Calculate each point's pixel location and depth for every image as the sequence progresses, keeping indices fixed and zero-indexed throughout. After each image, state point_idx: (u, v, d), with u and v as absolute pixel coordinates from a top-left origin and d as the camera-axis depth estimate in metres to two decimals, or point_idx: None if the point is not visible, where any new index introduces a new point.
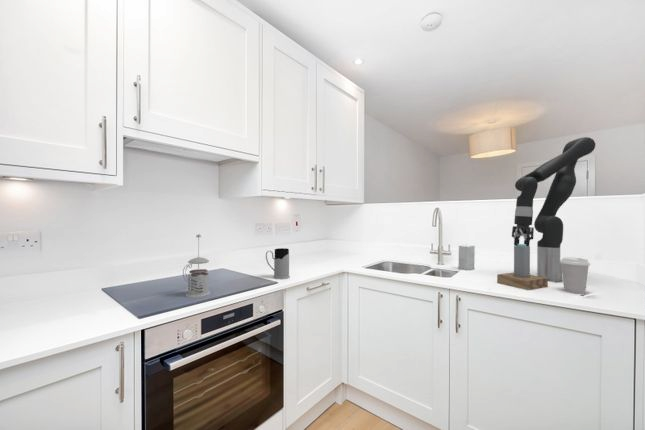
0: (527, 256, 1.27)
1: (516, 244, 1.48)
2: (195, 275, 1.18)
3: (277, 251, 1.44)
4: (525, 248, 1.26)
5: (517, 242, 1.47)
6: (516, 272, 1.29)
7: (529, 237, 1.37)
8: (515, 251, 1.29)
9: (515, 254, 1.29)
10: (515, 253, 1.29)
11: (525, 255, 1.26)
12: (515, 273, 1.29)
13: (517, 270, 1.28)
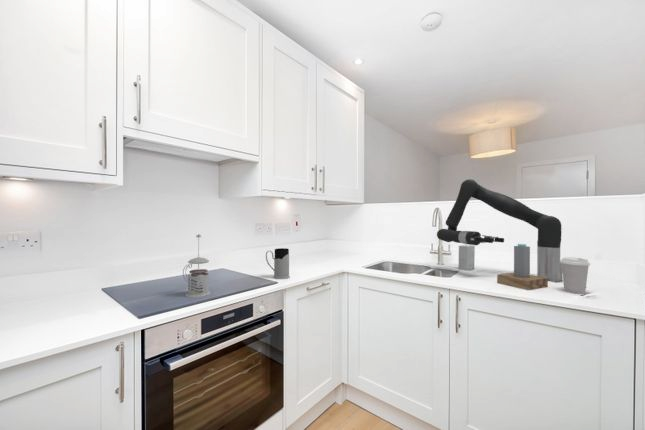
0: (527, 256, 1.27)
1: (501, 240, 1.41)
2: (195, 275, 1.18)
3: (277, 251, 1.43)
4: (525, 248, 1.26)
5: (499, 239, 1.42)
6: (516, 272, 1.29)
7: (478, 241, 1.41)
8: (515, 251, 1.29)
9: (515, 254, 1.29)
10: (515, 253, 1.29)
11: (525, 255, 1.26)
12: (515, 273, 1.29)
13: (517, 270, 1.28)
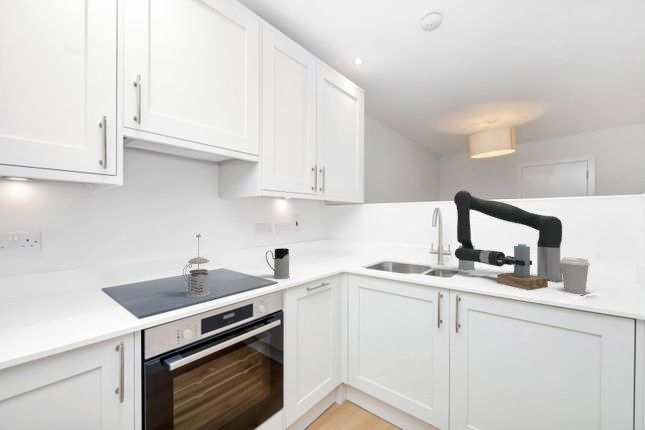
0: (527, 256, 1.27)
1: None
2: (195, 275, 1.18)
3: (277, 251, 1.44)
4: (525, 248, 1.26)
5: None
6: (516, 272, 1.29)
7: (509, 263, 1.29)
8: (515, 251, 1.29)
9: (515, 254, 1.29)
10: (515, 253, 1.29)
11: (525, 255, 1.26)
12: (515, 273, 1.29)
13: (518, 270, 1.28)
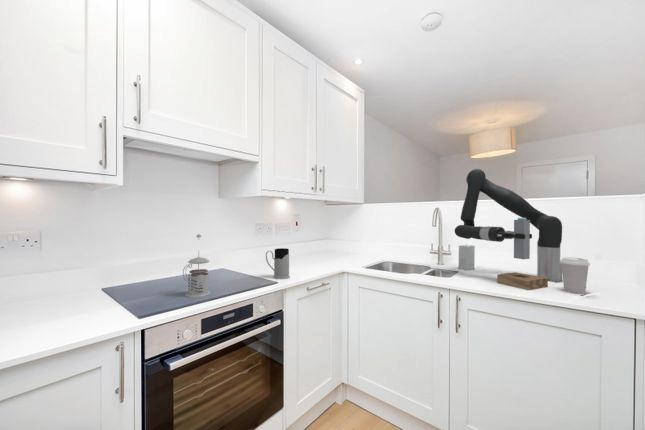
0: (527, 229, 1.27)
1: None
2: (195, 275, 1.18)
3: (277, 251, 1.43)
4: (525, 221, 1.26)
5: None
6: (516, 245, 1.29)
7: (508, 237, 1.29)
8: (515, 225, 1.29)
9: (515, 228, 1.29)
10: (515, 227, 1.29)
11: (525, 228, 1.26)
12: (515, 247, 1.29)
13: (517, 244, 1.28)
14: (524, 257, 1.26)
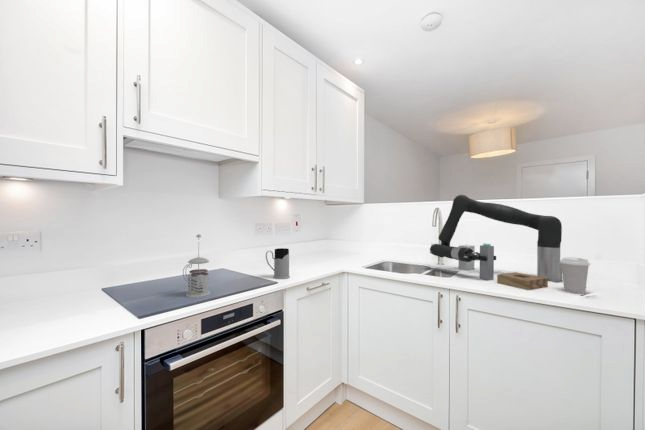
0: (491, 254, 1.38)
1: (494, 258, 1.40)
2: (195, 275, 1.18)
3: (277, 251, 1.43)
4: (489, 247, 1.37)
5: None
6: (481, 269, 1.40)
7: (472, 258, 1.40)
8: (481, 250, 1.40)
9: (480, 253, 1.40)
10: (481, 252, 1.40)
11: (489, 254, 1.37)
12: (480, 270, 1.40)
13: (482, 268, 1.39)
14: None
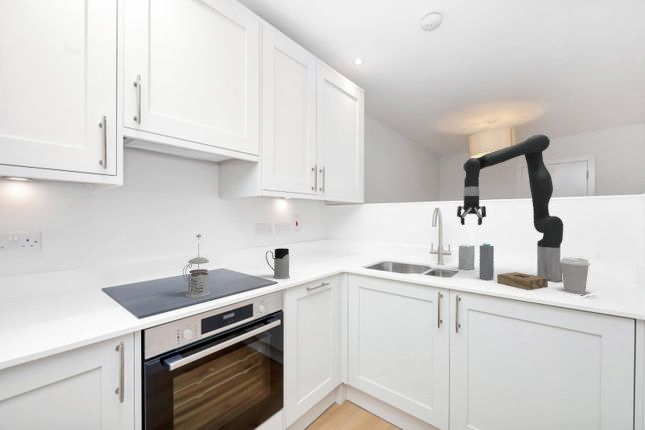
0: (491, 254, 1.38)
1: (478, 223, 1.51)
2: (195, 275, 1.18)
3: (277, 251, 1.43)
4: (489, 247, 1.37)
5: (479, 221, 1.51)
6: (481, 269, 1.40)
7: (457, 215, 1.53)
8: (480, 250, 1.40)
9: (480, 253, 1.40)
10: (480, 252, 1.40)
11: (489, 254, 1.37)
12: (480, 270, 1.40)
13: (482, 268, 1.39)
14: None
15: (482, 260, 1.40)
